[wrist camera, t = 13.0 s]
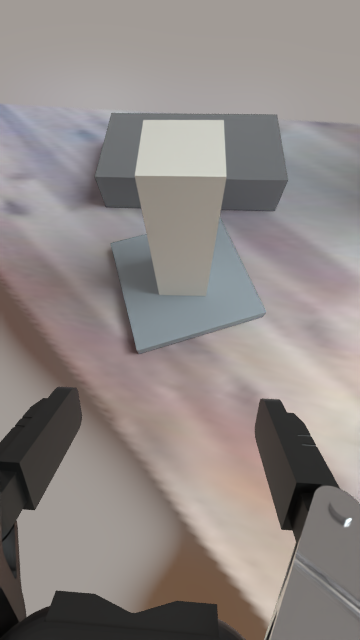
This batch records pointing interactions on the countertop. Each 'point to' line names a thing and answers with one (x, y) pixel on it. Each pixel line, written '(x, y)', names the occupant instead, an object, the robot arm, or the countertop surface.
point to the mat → (183, 311)
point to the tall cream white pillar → (181, 199)
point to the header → (240, 149)
